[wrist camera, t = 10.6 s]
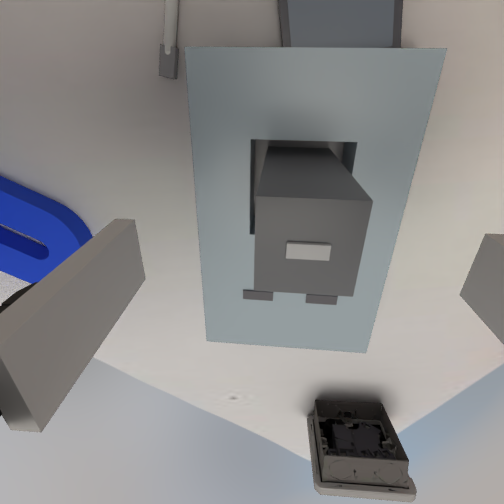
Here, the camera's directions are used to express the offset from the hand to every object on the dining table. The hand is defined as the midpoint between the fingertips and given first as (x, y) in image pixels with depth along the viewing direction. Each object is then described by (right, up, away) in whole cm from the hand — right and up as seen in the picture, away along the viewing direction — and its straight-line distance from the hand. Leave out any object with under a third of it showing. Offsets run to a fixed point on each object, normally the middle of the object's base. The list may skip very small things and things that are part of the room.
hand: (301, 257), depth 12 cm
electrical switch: (+9, -18, +24) cm, 31 cm away
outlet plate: (+1, +3, +13) cm, 14 cm away
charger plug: (+1, +6, +11) cm, 13 cm away
